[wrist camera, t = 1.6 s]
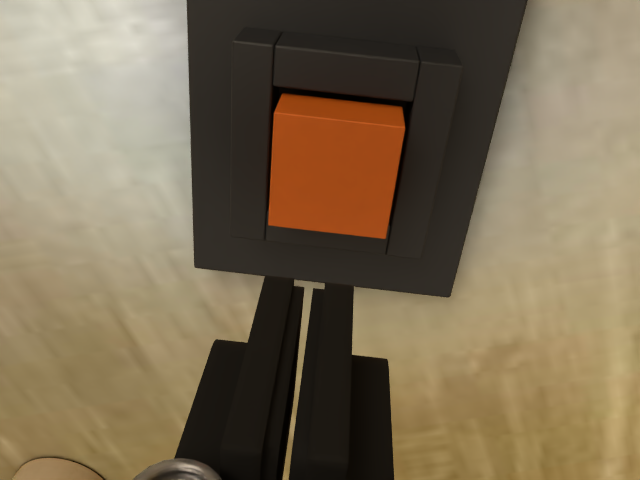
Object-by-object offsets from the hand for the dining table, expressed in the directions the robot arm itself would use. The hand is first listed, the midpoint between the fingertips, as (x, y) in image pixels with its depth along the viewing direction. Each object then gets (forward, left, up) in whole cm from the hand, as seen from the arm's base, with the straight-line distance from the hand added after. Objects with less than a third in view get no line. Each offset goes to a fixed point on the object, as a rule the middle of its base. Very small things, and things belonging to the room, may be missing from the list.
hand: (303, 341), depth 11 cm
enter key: (0, 0, -8) cm, 8 cm away
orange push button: (0, 0, -11) cm, 11 cm away
